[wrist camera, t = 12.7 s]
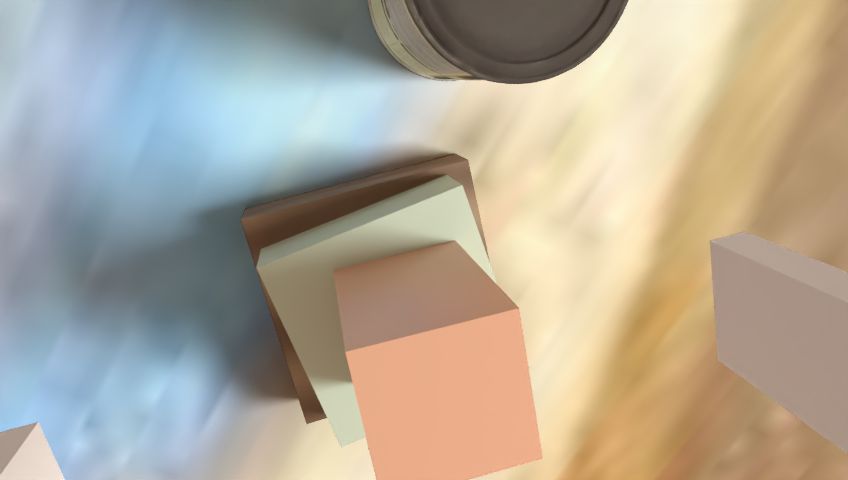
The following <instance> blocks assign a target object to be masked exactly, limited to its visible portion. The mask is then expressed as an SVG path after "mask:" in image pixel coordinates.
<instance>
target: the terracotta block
mask: <svg viewBox="0 0 848 480" xmlns="http://www.w3.org/2000/svg"><path fill="white" fill-rule="evenodd" d="M333 274H334V281H335V288H336V294H337V301H338V307H339V314H340V321H341V327H342V334H343V340H344V347H345V353H346V357H347V361H348V365H349V369H350V373H351V378H352V382H353V386H354V390H355V394H356V398H357V402H358V406H359V410H360V414H361V418H362V423H363V427H364V431H365V435H366V439H367V443H368V447H369V451H370V455H371V459H372V463H373V467H374V472H375V476H376V480H469V479H472V478H476V477H479V476H483V475H486V474H490V473H493V472H497V471H500V470H504V469H507V468H511V467H514V466H518V465H521V464H525V463H528V462H532V461H535V460H539V459H542V451H541V445H540V439H539V432H538V426H537V420H536V413H535V407H534V401H533V394H532V388H531V381H530V375H529V369H528V362H527V356H526V350H525V343H524V337H523V331H522V324H521V318H520V312H519V308H518V307H517V306H516V304H515V303H514V302H513V301H512V300H511V299H510V298H509V297H508V296H507V295H506V294H505V293H504V292H503V291H502V290H501V288H500V287H499V286H498V285H497V284H496V283H495V282H494V281H493V280H492V279H491V278H490V277H489V276H488V275H487V274H486V273H485V271H484V270H483V269H482V268H481V267H480V266H479V265H478V264H477V263H476V262H475V261H474V260H473V259H472V258H471V257H470V255H469V254H468V253H467V252H466V251H465V250H464V249H463V248H462V247H461V246H460V245H459V244H458V243H457V242H456V241H452V242H448V243H444V244H439V245H435V246H431V247H427V248H422V249H418V250H414V251H410V252H405V253H401V254H397V255H393V256H388V257H384V258H380V259H376V260H371V261H367V262H363V263H359V264H354V265H350V266H346V267H342V268H338V269H333Z"/></svg>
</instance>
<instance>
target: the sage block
mask: <svg viewBox="0 0 848 480" xmlns="http://www.w3.org/2000/svg"><path fill="white" fill-rule="evenodd" d="M452 241H456V242H457V243H458V244H459V245H460V246H461V247H462V248H463V249H464V250H465V251H466V252H467V253H468V254H469V255H470V257H471V258H472V259H473V260H474V261H475V262H476V263H477V264H478V265H479V266H480V267H481V268H482V269H483V270H484V271H485V273H486V274H487V275H488V276H489V277H490V278H491V279H492V280H493V281H494V282H495V283H496V284H497V282H496V279H495V276H494V274H493V271H492V268H491V265H490V262H489V259H488V256H487V254H486V251H485V248H484V245H483V242H482V239H481V236H480V234H479V231H478V228H477V225H476V222H475V219H474V217H473V214H472V211H471V208H470V205H469V202H468V199H467V197H466V194H465V191H464V188H463V185H462V184H460V183H459V182H457V181H456V180H454V179H453V178H451V177H450V176H448V175H444V176H442V177H439V178H437V179H434V180H432V181H429V182H427V183H424V184H422V185H419V186H417V187H414V188H412V189H409V190H407V191H404V192H402V193H399V194H397V195H394V196H392V197H389V198H387V199H384V200H382V201H379V202H377V203H374V204H372V205H369V206H367V207H364V208H362V209H359V210H357V211H354V212H352V213H349V214H347V215H344V216H342V217H339V218H337V219H334V220H332V221H329V222H327V223H324V224H322V225H319V226H317V227H314V228H312V229H309V230H307V231H304V232H302V233H300V234H297V235H295V236H292V237H290V238H287V239H285V240H282V241H280V242H277V243H275V244H272V245H270V246H267V247H265V248H262V249H261V251H260V255H259V259H258V263H257V267H256V268H257V270H258V273H259V275H260V277H261V279H262V281H263V283H264V285H265V287H266V289H267V292H268V294H269V296H270V298H271V300H272V302H273V304H274V306H275V309H276V311H277V313H278V315H279V317H280V319H281V321H282V323H283V325H284V328H285V330H286V332H287V334H288V336H289V338H290V340H291V342H292V344H293V347H294V349H295V351H296V353H297V355H298V357H299V359H300V361H301V363H302V366H303V368H304V370H305V372H306V374H307V376H308V378H309V380H310V382H311V385H312V387H313V389H314V391H315V393H316V395H317V397H318V399H319V401H320V404H321V406H322V408H323V410H324V412H325V414H326V416H327V418H328V420H329V423H330V425H331V427H332V429H333V431H334V433H335V435H336V437H337V439H338V442H339V444H340V446H341V447H343V446H346V445H348V444H350V443H353V442H355V441H357V440H360V439H362V438H364V437H366V435H365V431H364V427H363V423H362V418H361V414H360V410H359V406H358V402H357V398H356V394H355V390H354V386H353V382H352V378H351V373H350V369H349V365H348V361H347V357H346V353H345V347H344V340H343V334H342V327H341V321H340V314H339V307H338V301H337V294H336V288H335V281H334V274H333V269H338V268H342V267H346V266H350V265H354V264H359V263H363V262H367V261H371V260H376V259H380V258H384V257H388V256H393V255H397V254H401V253H405V252H410V251H414V250H418V249H422V248H427V247H431V246H435V245H439V244H444V243H448V242H452Z"/></svg>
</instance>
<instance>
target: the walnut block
mask: <svg viewBox="0 0 848 480" xmlns="http://www.w3.org/2000/svg"><path fill="white" fill-rule="evenodd" d="M444 175H448V176H450V177H451V178H453V179H454V180H456V181H457V182H459V183H460V184H462V185H463V188H464V191H465V194H466V197H467V199H468V202H469V205H470V208H471V211H472V214H473V217H474V219H475V222H476V225H477V228H478V231H479V234H480V236H481V239H482V242H483V245H484V248H485V251H486V254H487V256H488V252H487V248H486V243H485V238H484V234H483V229H482V224H481V219H480V215H479V210H478V205H477V200H476V196H475V191H474V186H473V182H472V177H471V172H470V167H469V163H468V160H467V159H465V158H463V157H461V156H459V155H457V154H452V155H448V156H445V157H441V158H437V159H433V160H429V161H425V162H422V163H418V164H414V165H410V166H406V167H403V168H399V169H395V170H391V171H387V172H383V173H380V174H376V175H372V176H368V177H364V178H361V179H357V180H353V181H349V182H345V183H341V184H338V185H334V186H330V187H326V188H322V189H319V190H315V191H311V192H307V193H303V194H299V195H296V196H292V197H288V198H284V199H280V200H277V201H273V202H269V203H265V204H261V205H257V206H254V207H250V208H246V209H245V211H244V213H243V215H242V218H241V223H242V226H243V229H244V232H245V235H246V238H247V241H248V244H249V248H250V251H251V254H252V257H253V260H254V263H255V266H256V267H257V263H258V259H259V255H260V251H261V249H262V248H265V247H267V246H270V245H272V244H275V243H277V242H280V241H282V240H285V239H287V238H290V237H292V236H295V235H297V234H300V233H302V232H304V231H307V230H309V229H312V228H314V227H317V226H319V225H322V224H324V223H327V222H329V221H332V220H334V219H337V218H339V217H342V216H344V215H347V214H349V213H352V212H354V211H357V210H359V209H362V208H364V207H367V206H369V205H372V204H374V203H377V202H379V201H382V200H384V199H387V198H389V197H392V196H394V195H397V194H399V193H402V192H404V191H407V190H409V189H412V188H414V187H417V186H419V185H422V184H424V183H427V182H429V181H432V180H434V179H437V178H439V177H442V176H444ZM488 259H489V257H488ZM256 269H257V268H256ZM257 272H258V270H257ZM258 275H259V273H258ZM259 278H260V281H261V285H262V288H263V291H264V294H265V297H266V300H267V303H268V306H269V309H270V312H271V315H272V318H273V322H274V325H275V328H276V331H277V334H278V337H279V340H280V343H281V346H282V349H283V352H284V355H285V358H286V362H287V365H288V368H289V371H290V374H291V377H292V380H293V383H294V386H295V389H296V392H297V395H298V399H299V402H300V405H301V408H302V411H303V414H304V417H305V420H306V423H307V424H308V423H312V422H315V421H318V420H321V419H325V418H327V416H326V414H325V412H324V410H323V408H322V406H321V404H320V401H319V399H318V397H317V395H316V393H315V391H314V389H313V387H312V385H311V382H310V380H309V378H308V376H307V374H306V372H305V370H304V368H303V366H302V363H301V361H300V359H299V357H298V355H297V353H296V351H295V349H294V347H293V344H292V342H291V340H290V338H289V336H288V334H287V332H286V330H285V328H284V325H283V323H282V321H281V319H280V317H279V315H278V313H277V311H276V309H275V306H274V304H273V302H272V300H271V298H270V296H269V294H268V292H267V289H266V287H265V285H264V283H263V281H262V279H261V277H260V275H259Z"/></svg>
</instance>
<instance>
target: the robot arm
mask: <svg viewBox="0 0 848 480" xmlns="http://www.w3.org/2000/svg"><path fill="white" fill-rule="evenodd" d="M710 250H711V265H712V280H713V295H714V310H715V325H716V340H717V355H718V360H719V361H720V362H721V363H723V364H724V365H726V366H727V367H728V368H730V369H731V370H732V371H734V372H735V373H737V374H738V375H739V376H741V377H742V378H743V379H745V380H746V381H748V382H749V383H750V384H752V385H753V386H755V387H756V388H757V389H759V390H760V391H761V392H763V393H764V394H766V395H767V396H768V397H770V398H771V399H772V400H774V401H775V402H777V403H778V404H779V405H781V406H782V407H783V408H785V409H786V410H788V411H789V412H790V413H792V414H793V415H795V416H796V417H797V418H799V419H800V420H801V421H803V422H804V423H806V424H807V425H808V426H810V427H811V428H812V429H814V430H815V431H817V432H818V433H819V434H821V435H822V436H823V437H825V438H826V439H828V440H829V441H830V442H832V443H833V444H835V445H836V446H837V447H839V448H840V449H841V450H843V451H844V452H846V453H847V454H848V272H846V271H843V270H841V269H838V268H836V267H833V266H831V265H828V264H826V263H823V262H820V261H818V260H815V259H813V258H810V257H808V256H805V255H803V254H800V253H798V252H795V251H792V250H790V249H787V248H785V247H782V246H780V245H777V244H775V243H772V242H770V241H767V240H764V239H762V238H759V237H757V236H754V235H752V234H749V233H747V232H741V233H737V234H733V235H729V236H726V237H722V238H718V239H715V240H711V241H710ZM0 480H65V479H64V477H63V475H62V473H61V470H60V468H59V466H58V464H57V462H56V460H55V457H54V455H53V453H52V451H51V449H50V447H49V444H48V442H47V440H46V438H45V436H44V433H43V431H42V429H41V427H40V425H39V423H38V422H37V423H33V424H29V425H26V426H22V427H18V428H15V429H11V430H7V431H3V432H0Z"/></svg>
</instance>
